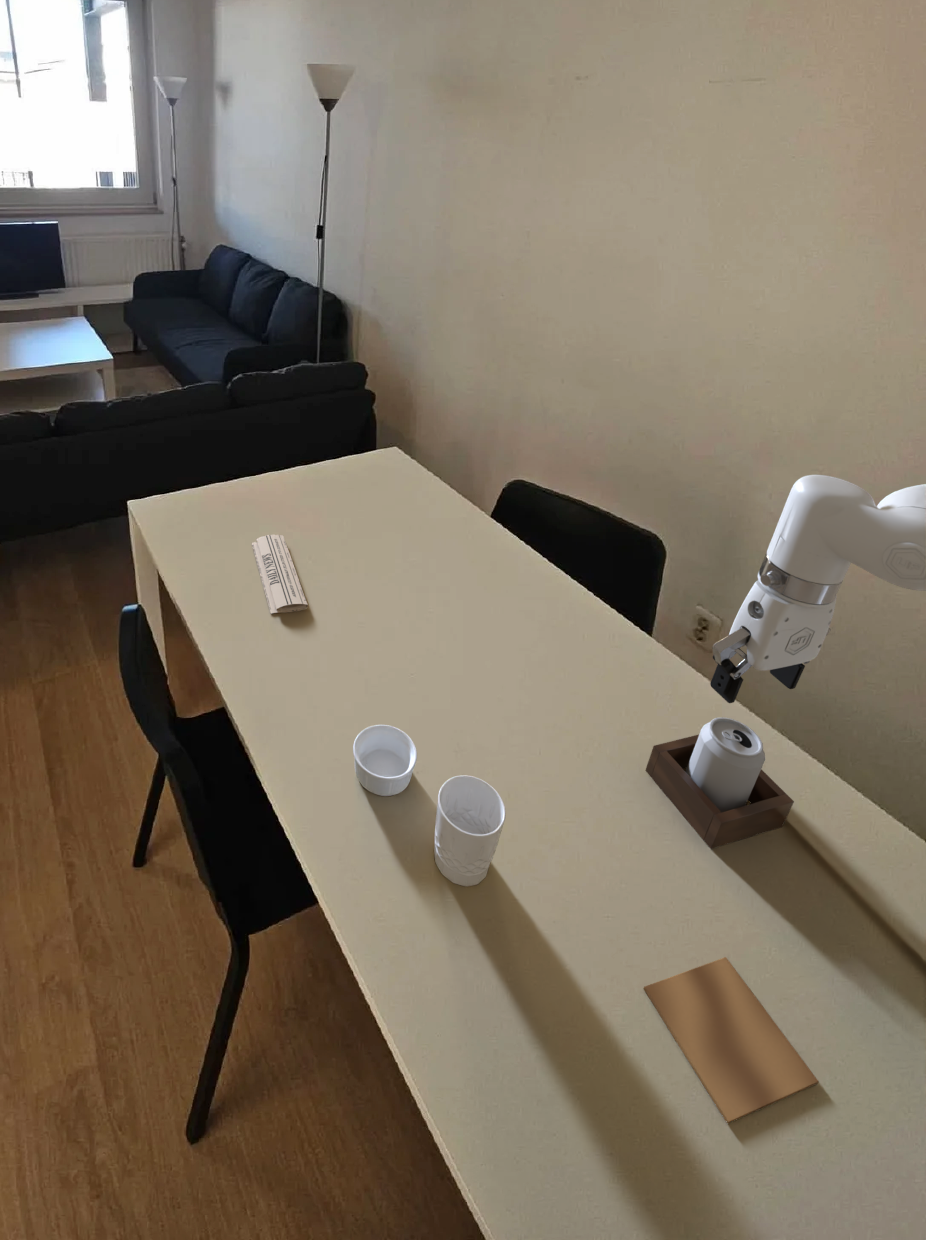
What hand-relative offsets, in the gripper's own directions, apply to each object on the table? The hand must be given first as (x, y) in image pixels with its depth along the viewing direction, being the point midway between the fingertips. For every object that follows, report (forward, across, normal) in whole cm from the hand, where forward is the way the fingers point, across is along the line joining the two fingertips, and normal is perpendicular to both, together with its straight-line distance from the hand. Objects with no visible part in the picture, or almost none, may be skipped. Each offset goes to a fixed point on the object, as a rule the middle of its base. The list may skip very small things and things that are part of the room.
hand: (751, 687), depth 85 cm
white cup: (+20, -38, 0) cm, 43 cm away
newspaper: (+21, -47, +62) cm, 81 cm away
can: (+20, 0, 0) cm, 20 cm away
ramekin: (+21, -43, +14) cm, 50 cm away
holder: (+20, 0, 0) cm, 20 cm away
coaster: (+20, -20, -22) cm, 36 cm away
